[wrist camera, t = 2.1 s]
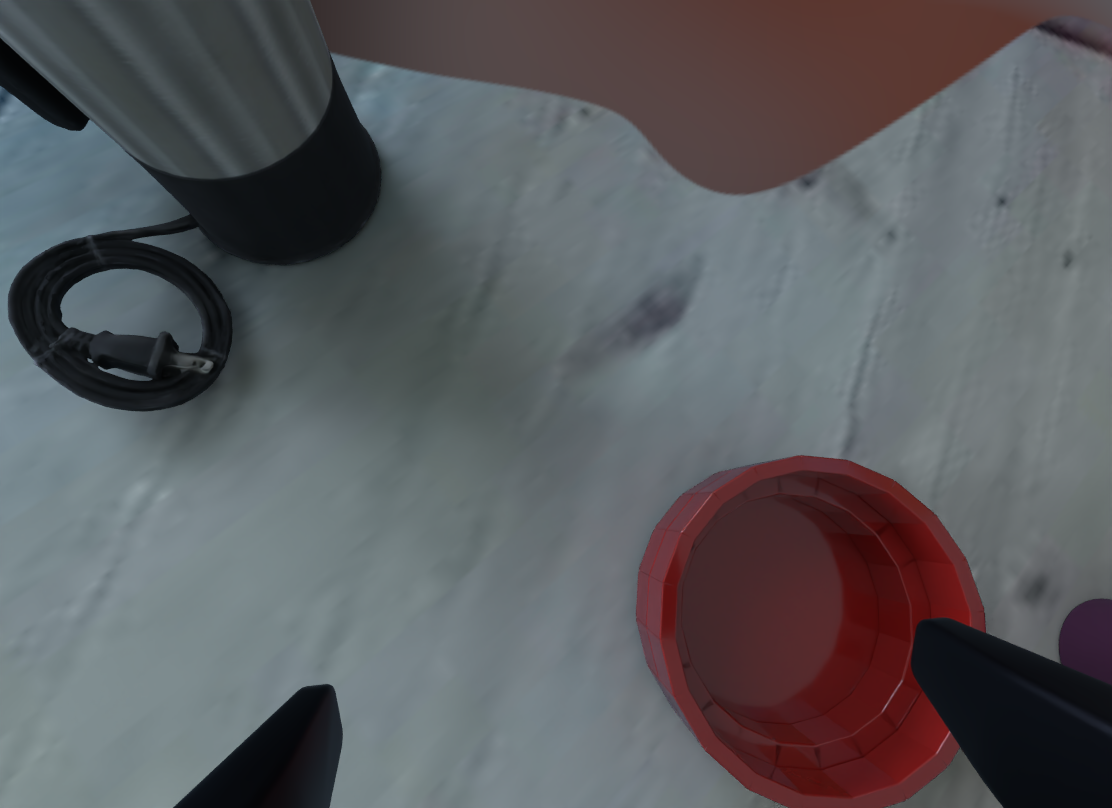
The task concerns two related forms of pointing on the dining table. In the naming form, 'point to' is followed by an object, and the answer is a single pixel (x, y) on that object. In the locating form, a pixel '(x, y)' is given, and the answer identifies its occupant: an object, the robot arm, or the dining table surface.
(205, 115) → the milk frother
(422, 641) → the dining table surface
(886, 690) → the bowl
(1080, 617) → the canister
